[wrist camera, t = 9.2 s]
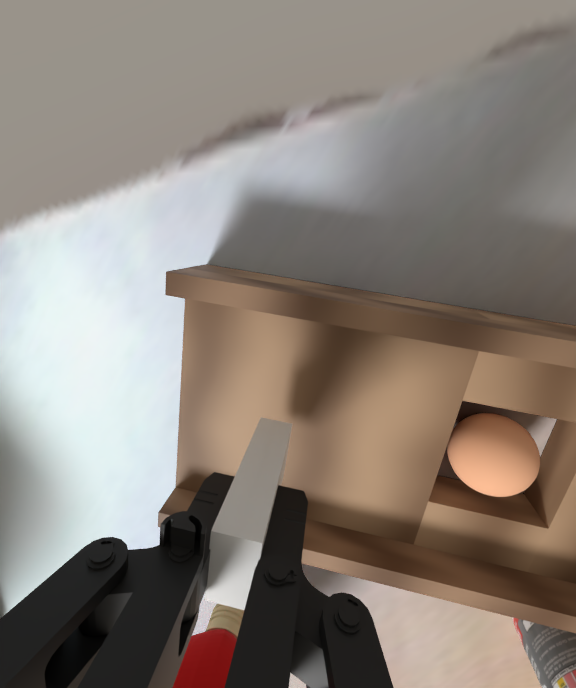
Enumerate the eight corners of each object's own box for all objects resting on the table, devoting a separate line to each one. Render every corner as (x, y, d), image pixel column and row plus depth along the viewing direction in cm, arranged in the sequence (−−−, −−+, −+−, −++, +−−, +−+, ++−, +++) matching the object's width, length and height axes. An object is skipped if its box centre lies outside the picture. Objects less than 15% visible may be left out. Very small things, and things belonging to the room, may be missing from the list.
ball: (437, 451, 20) (437, 493, 17) (458, 391, 19) (464, 423, 15) (512, 477, 19) (530, 529, 16) (541, 415, 18) (567, 456, 14)
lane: (192, 473, 23) (158, 526, 19) (206, 264, 19) (166, 271, 15) (570, 562, 21) (628, 647, 16) (687, 344, 16) (809, 381, 12)
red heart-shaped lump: (304, 592, 25) (279, 811, 15) (281, 653, 27) (247, 876, 17) (183, 551, 25) (87, 735, 16) (171, 613, 28) (80, 808, 18)
